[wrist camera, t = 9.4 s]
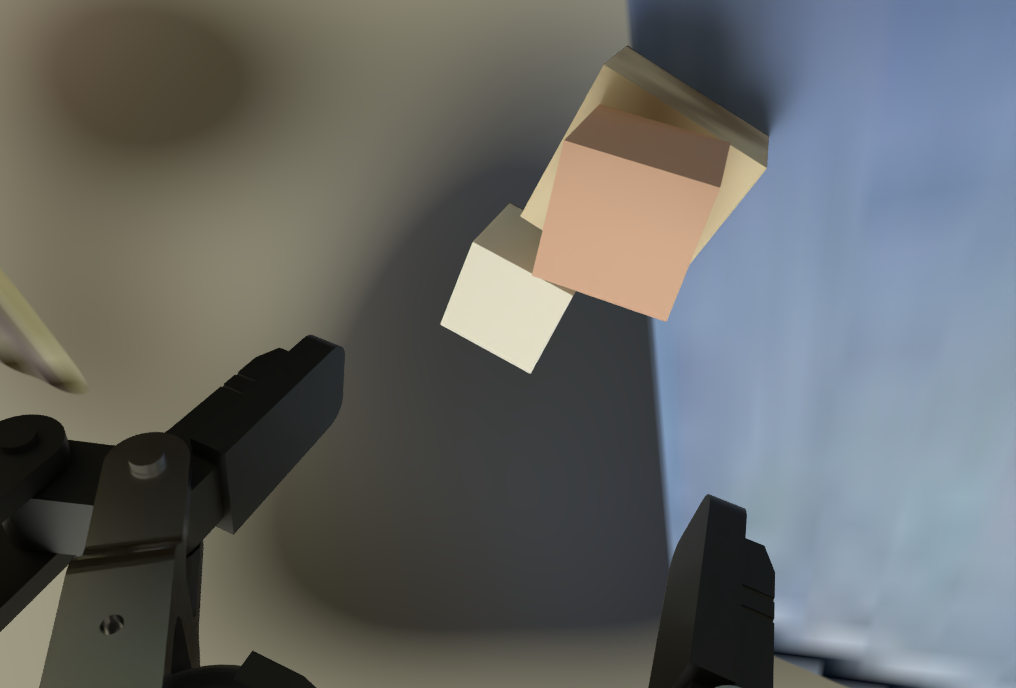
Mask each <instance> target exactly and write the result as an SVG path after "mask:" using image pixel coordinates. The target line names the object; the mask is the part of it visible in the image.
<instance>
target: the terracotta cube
mask: <svg viewBox="0 0 1016 688" xmlns="http://www.w3.org/2000/svg"><path fill="white" fill-rule="evenodd" d="M730 143H731V142H727V141H724V140H720V139H717V138H713V137H710V136H706V135H703V134H700V133H696V132H693V131H689V130H686V129H682V128H679V127H675V126H672V125H669V124H665V123H662V122H658V121H655V120H651V119H648V118H644V117H641V116H638V115H634V114H631V113H627V112H624V111H620V110H617V109H613V108H610V107H607V106H603V105H600V104H599V105H598V106H597V107H596V108H595V109H594V110H593V111H592V112H591V113H590V114H589V115H588V116H587V117H586V118H585V119H584V120H583V121H582V122H581V123H580V125H579V126H578V127H577V128H576V129H575V130H574V131H573V132H572V133H571V134H570V135H569V136H568V137H567V138H566V139H565V140H564V142H563V146H562V151H561V155H560V159H559V163H558V167H557V172H556V176H555V180H554V184H553V188H552V193H551V197H550V201H549V205H548V210H547V214H546V218H545V222H544V226H543V231H542V235H541V239H540V243H539V248H538V252H537V256H536V260H535V264H534V269H533V273H532V276H534V277H537V278H540V279H543V280H546V281H549V282H552V283H555V284H558V285H561V286H564V287H566V288H569V289H572V290H575V291H578V292H581V293H584V294H587V295H590V296H593V297H595V298H599V299H601V300H604V301H607V302H610V303H613V304H616V305H619V306H622V307H625V308H627V309H630V310H633V311H636V312H639V313H642V314H645V315H648V316H651V317H654V318H656V319H659V320H662V321H665V322H667V319H668V317H669V314H670V312H671V309H672V307H673V304H674V302H675V299H676V297H677V294H678V292H679V289H680V287H681V284H682V282H683V279H684V277H685V274H686V272H687V269H688V267H689V264H690V262H691V260H692V257H693V255H694V252H695V250H696V247H697V245H698V242H699V240H700V237H701V235H702V232H703V230H704V227H705V225H706V222H707V220H708V217H709V215H710V212H711V210H712V207H713V205H714V202H715V200H716V197H717V195H718V192H719V190H720V187H721V183H722V178H723V174H724V170H725V165H726V161H727V156H728V152H729V148H730Z"/></svg>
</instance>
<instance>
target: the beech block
mask: <svg viewBox="0 0 1016 688" xmlns="http://www.w3.org/2000/svg"><path fill="white" fill-rule="evenodd" d="M599 104H600V105H603V106H607V107H610V108H613V109H617V110H620V111H624V112H627V113H631V114H634V115H638V116H641V117H644V118H648V119H651V120H655V121H658V122H662V123H665V124H669V125H672V126H675V127H679V128H682V129H686V130H689V131H693V132H696V133H700V134H703V135H706V136H710V137H713V138H717V139H720V140H724V141H727V142H731V143H730V148H729V152H728V156H727V161H726V165H725V170H724V174H723V178H722V183H721V187H720V190H719V192H718V195H717V197H716V200H715V202H714V205H713V207H712V210H711V212H710V215H709V217H708V220H707V222H706V225H705V227H704V230H703V232H702V235H701V237H700V240H699V242H698V245H697V247H696V250H695V252H694V255H693V257H692V260H691V262H692V261H693V259H694V258H695V257H696V256H697V255H698V253H699V252H700V251H701V250H702V248H703V247H704V246H705V245H706V243H707V242H708V241H709V240H710V238H711V237H712V236H713V235H714V233H715V232H716V231H717V230H718V228H719V227H720V226H721V225H722V223H723V222H724V221H725V220H726V218H727V217H728V216H729V215H730V214H731V212H732V211H733V210H734V209H735V207H736V206H737V205H738V204H739V202H740V201H741V200H742V199H743V197H744V196H745V195H746V194H747V192H748V191H749V190H750V189H751V187H752V186H753V185H754V184H755V182H756V181H757V180H758V179H759V177H760V176H761V175H762V174H763V173H764V171H765V170H766V169H767V159H768V143H769V136H767V135H765V134H764V133H762V132H761V131H759V130H758V129H756V128H754V127H753V126H751V125H750V124H748V123H747V122H745V121H743V120H742V119H740V118H739V117H737V116H736V115H734V114H732V113H731V112H729V111H728V110H726V109H725V108H723V107H721V106H720V105H718V104H717V103H715V102H714V101H712V100H710V99H709V98H707V97H706V96H704V95H703V94H701V93H699V92H698V91H696V90H695V89H693V88H692V87H690V86H688V85H687V84H685V83H684V82H682V81H681V80H679V79H677V78H676V77H674V76H673V75H671V74H670V73H668V72H666V71H665V70H663V69H662V68H660V67H659V66H657V65H655V64H654V63H652V62H651V61H649V60H648V59H646V58H644V57H643V56H641V55H640V54H638V53H636V52H635V51H633V50H632V49H631V47H629V46H628V45H627V46H626V47H625V48H623V49H622V50H621V51H620V52H618V53H617V54H616V55H615V56H614V57H612V58H611V59H610V60H609V61H608V62H606V63H605V64H604V65H603V67H602V69H601V71H600V73H599V75H598V76H597V78H596V80H595V82H594V84H593V85H592V87H591V89H590V91H589V92H588V94H587V96H586V98H585V100H584V101H583V103H582V105H581V107H580V109H579V111H578V112H577V114H576V116H575V118H574V120H573V122H572V123H571V125H570V127H569V129H568V130H567V132H566V134H565V136H564V138H563V140H562V141H561V143H560V145H559V147H558V149H557V151H556V152H555V154H554V156H553V158H552V160H551V161H550V163H549V165H548V167H547V169H546V170H545V173H544V174H543V176H542V178H541V179H540V181H539V183H538V185H537V187H536V188H535V190H534V192H533V194H532V196H531V198H530V199H529V201H528V203H527V205H526V207H525V209H524V210H523V212H522V214H521V217H522V218H524V219H525V220H527V221H528V222H530V223H532V224H533V225H535V226H536V227H538V228H539V229H541V230H543V226H544V222H545V218H546V214H547V210H548V205H549V201H550V197H551V193H552V188H553V184H554V180H555V176H556V172H557V167H558V163H559V159H560V155H561V151H562V146H563V142H564V140H565V139H566V138H567V137H568V136H569V135H570V134H571V133H572V132H573V131H574V130H575V129H576V128H577V127H578V126H579V125H580V123H581V122H582V121H583V120H584V119H585V118H586V117H587V116H588V115H589V114H590V113H591V112H592V111H593V110H594V109H595V108H596V107H597V106H598V105H599ZM691 262H690V263H691Z"/></svg>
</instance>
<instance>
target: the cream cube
mask: <svg viewBox="0 0 1016 688" xmlns="http://www.w3.org/2000/svg"><path fill="white" fill-rule="evenodd" d="M522 212H523V209H522V208H519V207H517V206H516V205H514V204H512V203H509V204H508V205H507V207H505V209H504V210H503V211H502V212H501V213H500V214H499V215H498V216H497V217H496V218H495V219H494V220H493V221H492V222H491V223H490V224H489V225H488V226H487V227H486V229H485V230H484V231H483V232H482V233H481V234H480V235H479V236H478V237H477V238H476V239H475V240H474V241H473V243H472V246H471V248H470V251H469V253H468V255H467V258H466V261H465V263H464V266H463V268H462V271H461V273H460V276H459V278H458V281H457V284H456V286H455V289H454V291H453V294H452V296H451V299H450V301H449V304H448V306H447V309H446V311H445V314H444V317H443V319H442V322H441V325H442V326H444V327H446V328H448V329H450V330H452V331H453V332H455V333H457V334H459V335H461V336H463V337H464V338H466V339H468V340H470V341H472V342H473V343H475V344H477V345H479V346H481V347H483V348H484V349H486V350H488V351H490V352H492V353H493V354H495V355H497V356H499V357H501V358H503V359H504V360H506V361H508V362H510V363H512V364H514V365H515V366H517V367H519V368H521V369H523V370H525V371H526V372H528V373H531V372H532V370H533V368H534V366H535V365H536V363H537V361H538V359H539V357H540V355H541V354H542V352H543V350H544V348H545V346H546V344H547V343H548V341H549V339H550V337H551V335H552V333H553V332H554V330H555V328H556V326H557V324H558V323H559V321H560V319H561V317H562V315H563V313H564V311H565V309H566V308H567V306H568V304H569V302H570V300H571V299H572V297H573V295H574V293H575V290H572V289H569V288H566V287H564V286H561V285H558V284H555V283H552V282H549V281H546V280H543V279H540V278H537V277H534V276H532V273H533V269H534V264H535V260H536V256H537V252H538V248H539V243H540V239H541V235H542V231H543V230H541V229H539V228H538V227H536V226H535V225H533V224H532V223H530V222H528V221H527V220H525V219H524V218H522V217H521V214H522Z"/></svg>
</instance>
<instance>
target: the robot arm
mask: <svg viewBox="0 0 1016 688" xmlns="http://www.w3.org/2000/svg"><path fill="white" fill-rule="evenodd" d="M344 362H345V351H344V349H343V347H341V346H339V345H336V344H334V343H331V342H329V341H326V340H324V339H321V338H319V337H316V336H314V335H308V336H306V337H305V338H303V339H302V340H301V341H300V342H299V343H298V344H296V345H295V346H294V347H293V348H292V349H291V350H290V351H287V350H284V349H281V348H278V349H275V350H273V351H270V352H268V353H265V354H263V355H260V356H258V357H256V358H254V359H253V360H252V361H251V362H250V363H248V364H247V365H246V366H245V367H243V368H242V369H241V370H240V371H239V372H238V374H237V375H234V376H233V377H232V378H230V379H229V380H228V381H227V382H226V383H224V386H223V387H220V388H219V389H217V390H216V391H215V392H214V393H212V394H211V395H210V396H209V397H208V398H206V399H205V400H204V401H203V402H202V403H200V404H199V405H198V406H197V407H196V408H194V409H193V410H192V411H191V412H190V413H188V414H187V415H186V416H185V417H184V418H183V419H181V420H180V421H179V422H178V423H176V424H175V425H174V426H173V427H172V428H170V429H169V430H168V431H166V432H165V433H163V432H149V433H142V434H139V435H135V436H132V437H129V438H127V439H125V440H123V441H122V442H120V443H118V444H117V445H116V446H115V445H105V444H97V443H88V442H81V441H73V440H68V439H67V437H66V433H65V430H64V427H63V426H62V425H61V423H60V422H58V421H57V420H55V419H53V418H51V417H48V416H44V415H21V416H15V417H11V418H8V419H5V420H2V421H0V632H1V631H2V629H4V628H5V627H6V626H7V625H8V624H9V623H10V622H11V621H12V620H13V619H14V618H15V617H16V616H17V615H18V614H19V613H20V612H21V611H22V610H23V609H24V608H25V607H26V606H27V605H28V604H29V603H30V602H31V601H32V600H33V599H34V598H35V597H36V596H37V595H38V594H39V593H40V592H41V591H42V590H43V589H44V588H45V587H46V586H47V585H48V584H49V583H50V582H51V581H52V580H53V579H54V578H55V577H56V576H57V575H58V574H59V573H60V572H61V571H62V570H63V569H64V568H65V567H66V566H67V565H68V564H69V565H68V568H67V571H66V575H65V579H64V583H63V587H62V592H61V596H60V600H59V605H58V609H57V613H56V618H55V622H54V626H53V631H52V635H51V639H50V643H49V648H48V652H47V657H46V661H45V665H44V669H43V674H42V678H41V683H40V686H39V688H316V687H315V686H314V685H313V684H312V683H311V682H309V681H308V680H307V679H306V678H305V677H304V676H302V675H300V674H298V673H296V672H294V671H292V670H290V669H288V668H286V667H284V666H282V665H280V664H278V663H276V662H274V661H272V660H270V659H268V658H266V657H264V656H262V655H260V654H258V653H256V652H254V651H252V652H251V654H250V655H249V656H248V658H247V659H246V661H245V662H244V663H243V664H242V666H238V665H209V666H202V667H200V647H199V618H200V601H201V584H202V566H203V551H204V542H203V539H204V538H205V537H206V536H207V535H208V534H209V533H210V532H211V530H212V529H213V528H214V527H215V526H216V527H219V528H221V529H223V530H225V531H227V532H229V533H231V534H235V532H236V531H237V530H238V529H239V528H240V527H241V526H242V525H243V524H244V522H245V521H246V520H247V519H248V518H249V517H250V516H251V515H252V513H253V512H254V511H255V510H256V509H257V508H258V507H259V506H260V504H261V503H262V502H263V501H264V500H265V499H266V498H267V497H268V496H269V494H270V493H271V492H272V491H273V490H274V489H275V487H276V486H277V485H278V484H279V483H280V482H281V481H282V479H284V478H285V476H286V475H287V474H288V473H289V472H290V471H291V470H292V469H293V467H294V466H295V465H296V464H297V463H298V462H299V461H300V460H301V458H302V457H303V456H304V455H305V454H306V453H307V452H308V451H309V449H310V448H311V447H312V446H313V445H314V444H315V443H316V442H317V440H318V439H319V438H320V437H321V436H322V435H323V434H324V433H325V431H326V430H327V429H328V428H329V427H330V426H331V424H332V423H333V422H334V420H335V419H336V417H337V415H338V413H339V410H340V408H341V404H342V399H343V383H344V382H343V381H344ZM746 519H747V513H746V509H745V508H742V507H739V506H737V505H734V504H732V503H729V502H727V501H724V500H722V499H719V498H717V497H714V496H712V495H709V494H708V495H706V496H705V498H704V499H703V501H702V502H701V504H700V506H699V507H698V509H697V511H696V513H695V514H694V516H693V518H692V519H691V521H690V523H689V525H688V526H687V528H686V530H685V531H684V533H683V535H682V537H681V538H680V540H679V542H678V544H677V547H676V549H675V552H674V555H673V558H672V561H671V565H670V569H669V575H668V580H667V586H666V591H665V597H664V603H663V608H662V614H661V619H660V625H659V631H658V637H657V642H656V648H655V653H654V659H653V665H652V670H651V676H650V682H649V687H648V688H773V663H774V623H773V619H774V602H773V600H774V598H775V571H774V569H773V566H772V564H771V561H770V559H769V556H768V554H767V551H766V549H765V546H763V545H761V544H758V543H756V542H754V541H751V540H749V539H746V538H745V534H746Z"/></svg>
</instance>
